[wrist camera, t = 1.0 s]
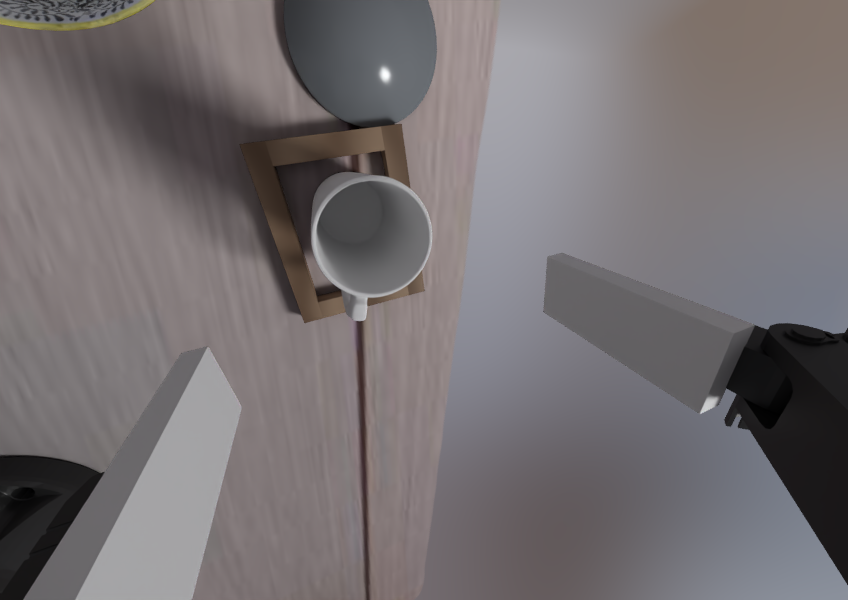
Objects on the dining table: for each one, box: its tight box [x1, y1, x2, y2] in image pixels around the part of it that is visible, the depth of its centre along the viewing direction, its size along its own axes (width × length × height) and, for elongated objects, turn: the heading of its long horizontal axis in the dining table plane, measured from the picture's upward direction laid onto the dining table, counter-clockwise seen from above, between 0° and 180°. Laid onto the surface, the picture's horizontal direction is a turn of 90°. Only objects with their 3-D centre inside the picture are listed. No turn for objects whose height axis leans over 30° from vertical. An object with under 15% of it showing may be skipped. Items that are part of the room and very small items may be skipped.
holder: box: [240, 124, 425, 323], centre depth 27 cm, size 12×15×2 cm
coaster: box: [284, 0, 437, 128], centre depth 22 cm, size 11×11×1 cm
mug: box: [311, 172, 432, 321], centre depth 22 cm, size 10×7×12 cm, turn 165°
